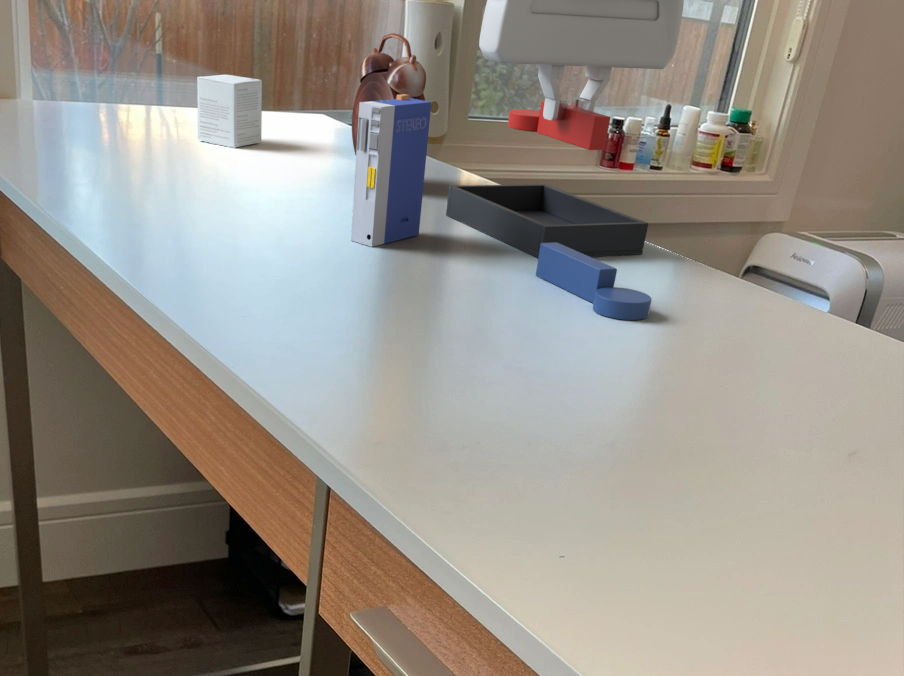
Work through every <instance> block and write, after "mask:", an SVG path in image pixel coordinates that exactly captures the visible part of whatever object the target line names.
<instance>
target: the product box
mask: <svg viewBox="0 0 904 676" xmlns="http://www.w3.org/2000/svg"><path fill="white" fill-rule="evenodd" d="M196 81H197V83H196V84H197V85H196V86H197V140H198V141H199V140H201V141H205V142H204V143H206V142H209V143H208V144H213V145H218V146H223V147H226V148H227V147H228V148H232V149H233V148H234V149H236V148H241V147H244V146H245V147H246V146H249V145H255V144H259V143H260V144H261V143H262V124H263V123H262V120H263V119H262V117H263V112H262V110H263V109H262V108H263V81H262V79H257V78H252V77H245V76H239V75H232V74H215V75H205V76H204V75H203V76H197V78H196ZM201 141H200V142H201Z"/></svg>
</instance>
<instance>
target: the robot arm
mask: <svg viewBox="0 0 904 676" xmlns="http://www.w3.org/2000/svg"><path fill="white" fill-rule="evenodd" d="M684 4H685V0H486V3H485V8H484V13H483V17H482V22H481V28H480V33H479V41H478V46H479V49H480V52H481V55H482V56H483V58H484V59H485V60H488V61H491V62H495V63H499V64H512V65H513V64H516V65H536V66H537V65H538V74H537V77H538V80H539V84H540V87H541V90H542V94H543V97H544V101H545V103H544V110H543V117H544V119H547V120H552V121H557V120H564V118H565V115H566V109H567V106H568V105H569V100H568V99H564V98H562V95H561V91H560V86H559V81H558V80H563V78H564V74H565V73H564V72H565V67H585V74H584V77H585V78H587V79H588V80H587V82H586V83H585V86H584V88H583V90H582V92H581V93H580V95H579V97H572V99H571V104H570V105H571V106H574V107H578V108H581V109H585V110H588V111H592V112H595V107H596V101H598V99H599V98H600V96H601V95H602V93H603V92H604V90H605V89H606V87H607V85H608V84H609V82H610V79H611V73H612V68H615V69H617V68H619V69H644V70H645V69H646V70H664V69H665V68H666V67H667V66H668V64H669V63H670V62H671V61H672V59H673V57H674V55H675V53H676V50H677V45H678V40H679V36H680V30H681V25H682V20H683V11H684Z"/></svg>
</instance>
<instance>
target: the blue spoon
mask: <svg viewBox="0 0 904 676" xmlns="http://www.w3.org/2000/svg"><path fill="white" fill-rule="evenodd" d="M536 264H537V265H536V272H535V276H536V277H538V278H540V279H542V280H545V281H547V282H549V283H550V284H553V285H554V286H557V287H558V288H561V289H563V290H565V291H567V292H568V293H571V294H573V295H575V296H577V297H579V298H581V299H583V300H585V301H587V302H590V303H591V304H592V311H594V312H595V313H596V314H599V315H600V316H603V317H606V318H610V319H614V320H615V319H616V320H621V321H639V320H640V321H641V320H644V319H647V318H648V317H649V314H650V308H651V304H652V300H653V299H652V297H651V296H650V295H649V294H647V293H645V292H644V291H643V292H642V291H640V290H637V289H632V288H626V287H615V283H616V282H615V281H616V277H617V272H618V268H617V267H614V266H612V265H609V264H608V263H605V262H604V261H603V262H602V261H600V260H598V259H596V258H595V257H589V256H587V255H584V254H582V253H580V252H578V251H575V250H573V249H571V248H568V247H566V246H564V245H562V244H559V243H557V242H554V243H541V245H540V251H539V258H537V263H536Z"/></svg>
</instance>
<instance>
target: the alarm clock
mask: <svg viewBox="0 0 904 676" xmlns="http://www.w3.org/2000/svg"><path fill="white" fill-rule="evenodd" d="M392 38H394V39H397V40H399V41H400V42H401V43H403V45H404V46H405V50H406V56H402V57H399V58H397V59H394V58H393V57H392V56H391V55H389V54H388V53H384V52H383V49H384V46H385V44H386V41H387V40H389V39H392ZM371 53H372V54H370V55H368V56H367V57H365V58H364V59H363V61H362V62H361V64H360V67H359V83H360V84H359V86H358V88H357V91H356V93H355V97H354V101H353V106H352V111H351V136H352V145H353V150H354V154H355V155H354V156H356V150H357V134H358V118H359V103H360V102H369V101H379V100H390V99H396V96H397V95H401V94H405V95H409V98H412V99H417V100H423V101H427V100H426V96H425V94H424V92H425V88H426V83H427V72H426V70H425V68H424V66H423V65H422V64H421V62H419V60H417V56H416V54H412V49H411V44H410V42H409V41H408V39H407V38H406V37H404V36H402V34H398V33H388V34H386V35H383V36H382V37H381V40H380V42H379V45H378V48H376V47H374V48H373V49H372V51H371Z"/></svg>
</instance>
